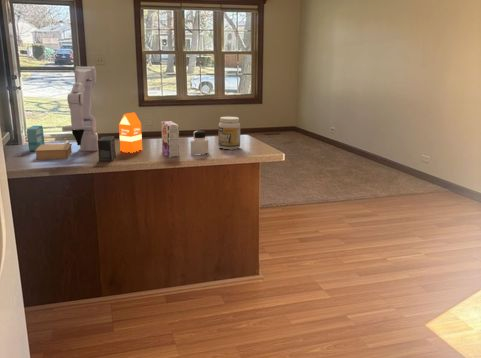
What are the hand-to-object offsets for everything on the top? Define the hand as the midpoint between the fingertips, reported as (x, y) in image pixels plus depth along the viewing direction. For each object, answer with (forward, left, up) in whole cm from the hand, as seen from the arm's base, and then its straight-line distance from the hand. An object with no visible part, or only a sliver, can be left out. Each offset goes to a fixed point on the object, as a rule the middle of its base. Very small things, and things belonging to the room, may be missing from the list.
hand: (79, 144), depth 226 cm
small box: (-14, +10, -6) cm, 18 cm away
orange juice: (-25, -8, -6) cm, 27 cm away
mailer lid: (+12, 0, -1) cm, 12 cm away
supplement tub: (-78, -8, -6) cm, 79 cm away
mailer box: (+12, 0, -5) cm, 13 cm away
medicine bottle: (-60, +4, -6) cm, 60 cm away
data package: (+24, -18, -6) cm, 31 cm away
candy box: (-45, +4, -6) cm, 46 cm away
